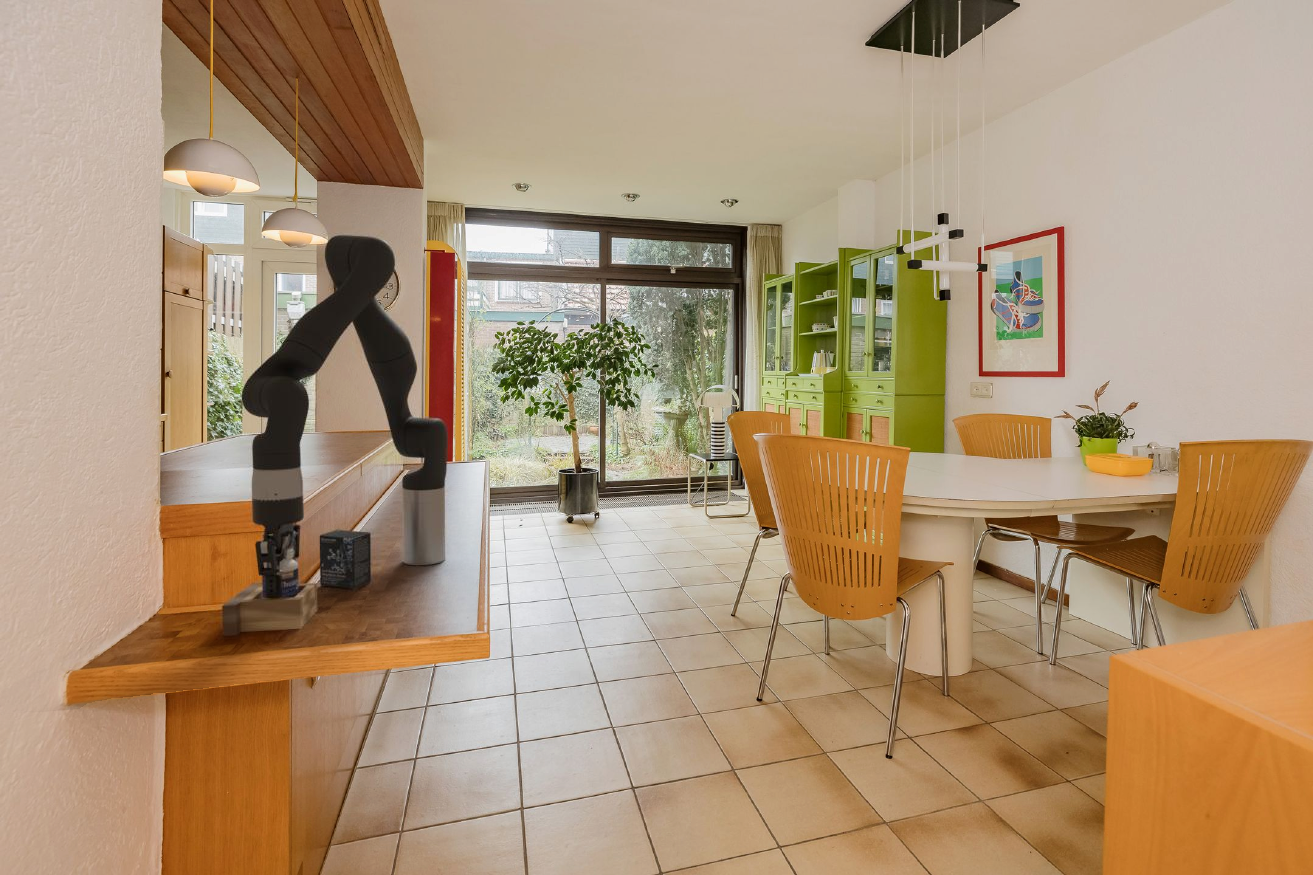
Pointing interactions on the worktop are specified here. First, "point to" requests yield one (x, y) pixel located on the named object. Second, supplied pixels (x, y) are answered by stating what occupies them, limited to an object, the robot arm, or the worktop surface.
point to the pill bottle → (286, 577)
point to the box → (345, 559)
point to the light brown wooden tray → (278, 610)
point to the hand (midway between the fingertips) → (280, 591)
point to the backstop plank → (235, 611)
